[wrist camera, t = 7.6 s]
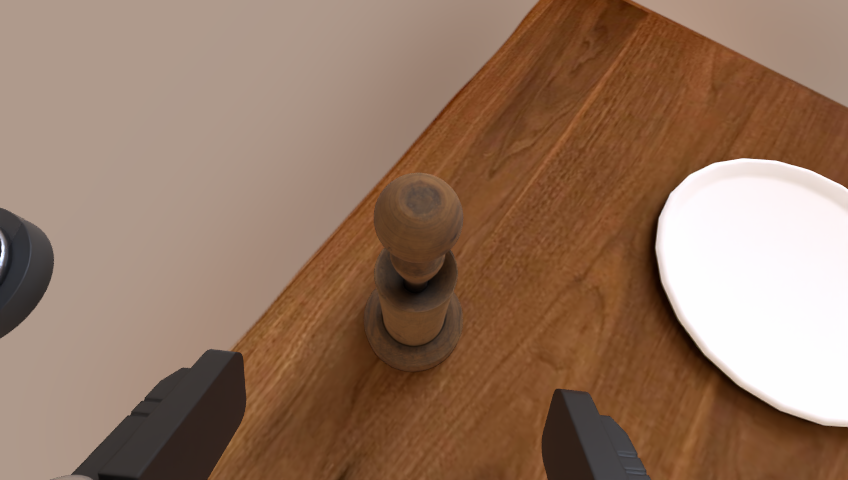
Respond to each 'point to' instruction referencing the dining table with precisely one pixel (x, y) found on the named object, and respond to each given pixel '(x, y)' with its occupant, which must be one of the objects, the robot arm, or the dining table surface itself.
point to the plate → (763, 280)
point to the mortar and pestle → (415, 274)
